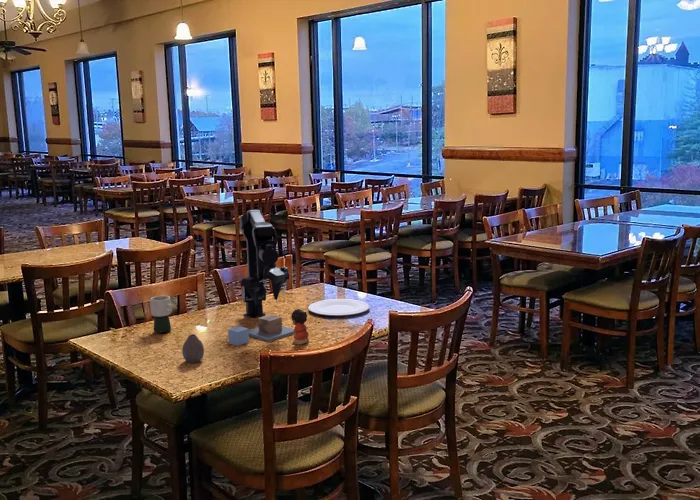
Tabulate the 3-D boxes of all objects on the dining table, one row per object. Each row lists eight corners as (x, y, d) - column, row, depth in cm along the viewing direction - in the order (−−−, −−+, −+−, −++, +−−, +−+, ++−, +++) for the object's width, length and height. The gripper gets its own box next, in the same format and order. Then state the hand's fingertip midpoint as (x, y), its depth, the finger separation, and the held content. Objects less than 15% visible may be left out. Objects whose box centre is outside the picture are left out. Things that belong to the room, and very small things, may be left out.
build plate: (243, 334, 258) (243, 331, 258) (272, 325, 268) (271, 323, 268) (268, 341, 249) (268, 339, 249) (297, 332, 259) (297, 330, 259)
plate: (380, 307, 292) (380, 303, 292) (348, 322, 272) (348, 318, 271) (330, 300, 306) (330, 295, 305) (295, 314, 285) (295, 309, 284)
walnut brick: (258, 331, 258) (258, 317, 257) (271, 327, 263) (270, 314, 262) (269, 334, 254) (269, 320, 253) (282, 330, 259) (281, 317, 258)
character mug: (180, 331, 263) (178, 297, 261) (165, 336, 257) (163, 301, 255) (159, 327, 269) (157, 293, 266) (145, 332, 263) (142, 298, 261)
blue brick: (228, 342, 249) (228, 329, 248) (239, 339, 253) (239, 325, 252) (237, 345, 246) (237, 331, 245) (248, 342, 249) (248, 328, 248)
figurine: (312, 340, 250) (311, 307, 248) (306, 345, 245) (305, 311, 242) (295, 339, 252) (294, 306, 250) (289, 343, 247) (288, 310, 244)
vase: (184, 358, 234) (182, 332, 232) (205, 357, 234) (204, 331, 233) (181, 365, 227) (179, 339, 225) (203, 364, 227) (201, 338, 226)
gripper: (260, 266, 240) (261, 311, 243) (299, 258, 254) (300, 300, 257) (238, 262, 248) (240, 306, 251) (278, 254, 261) (279, 295, 264)
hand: (266, 302), depth 255 cm, fingers open, 9 cm apart
